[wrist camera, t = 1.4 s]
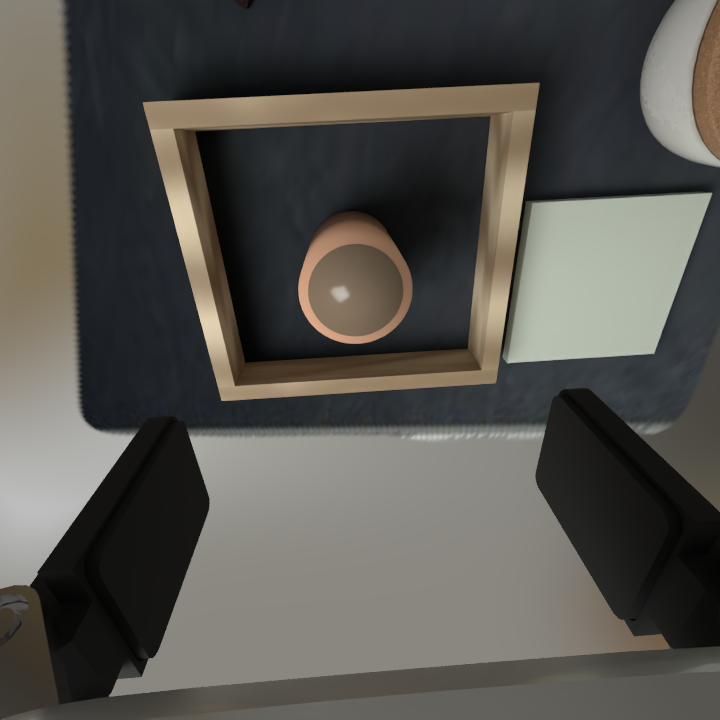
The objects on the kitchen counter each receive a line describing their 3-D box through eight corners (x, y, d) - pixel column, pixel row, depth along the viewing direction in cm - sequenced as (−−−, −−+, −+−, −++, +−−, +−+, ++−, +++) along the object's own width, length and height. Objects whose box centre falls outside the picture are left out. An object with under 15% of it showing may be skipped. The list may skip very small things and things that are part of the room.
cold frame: (169, 108, 23) (142, 102, 20) (512, 91, 23) (539, 82, 20) (233, 376, 32) (221, 400, 28) (480, 360, 32) (495, 383, 29)
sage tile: (526, 201, 26) (532, 202, 25) (699, 191, 26) (712, 192, 25) (502, 357, 32) (507, 362, 31) (645, 347, 32) (654, 353, 31)
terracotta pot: (304, 213, 26) (291, 237, 19) (393, 208, 26) (414, 230, 19) (313, 298, 29) (305, 347, 22) (393, 293, 29) (411, 341, 22)
